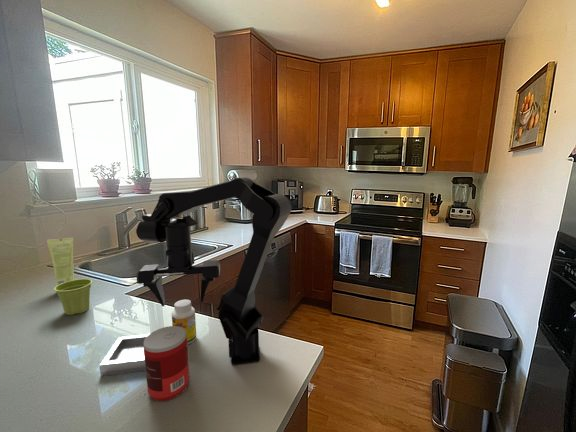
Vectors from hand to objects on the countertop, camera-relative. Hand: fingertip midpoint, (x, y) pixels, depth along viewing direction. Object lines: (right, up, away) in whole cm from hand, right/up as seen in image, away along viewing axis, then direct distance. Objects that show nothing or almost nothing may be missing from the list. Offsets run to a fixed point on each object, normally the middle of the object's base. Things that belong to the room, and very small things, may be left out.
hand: (183, 303), depth 71 cm
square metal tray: (-9, -11, -5) cm, 15 cm away
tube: (-55, -5, +33) cm, 64 cm away
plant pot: (-40, -8, +17) cm, 44 cm away
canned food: (+2, -13, -14) cm, 19 cm away
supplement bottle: (0, -10, +2) cm, 10 cm away
